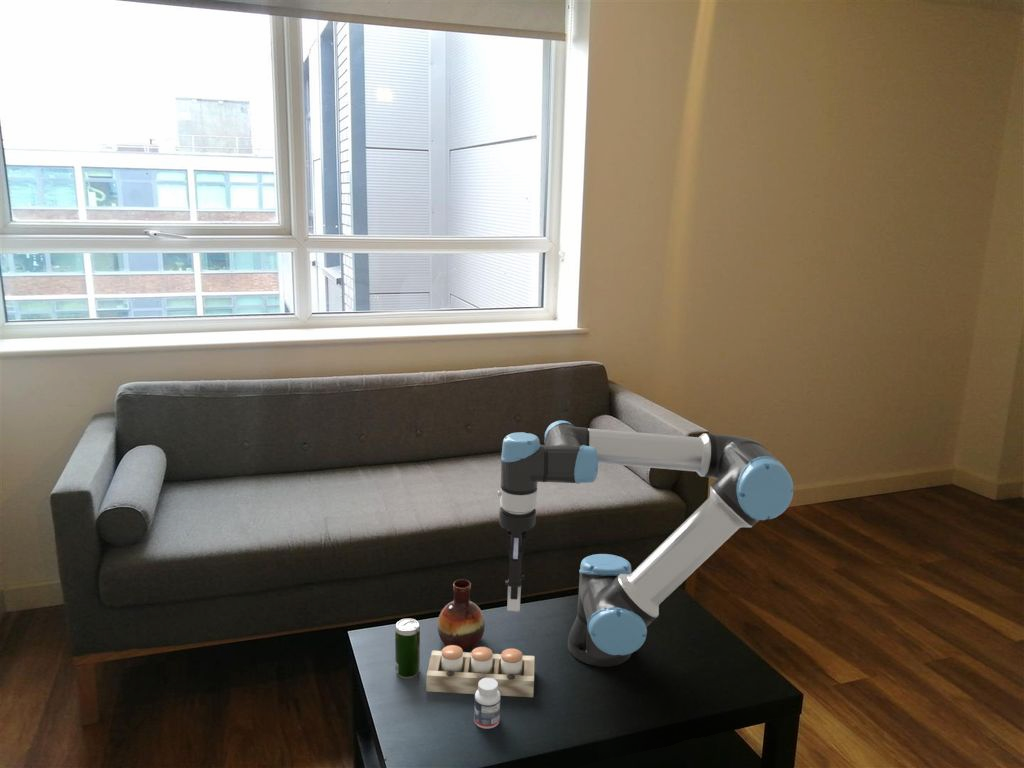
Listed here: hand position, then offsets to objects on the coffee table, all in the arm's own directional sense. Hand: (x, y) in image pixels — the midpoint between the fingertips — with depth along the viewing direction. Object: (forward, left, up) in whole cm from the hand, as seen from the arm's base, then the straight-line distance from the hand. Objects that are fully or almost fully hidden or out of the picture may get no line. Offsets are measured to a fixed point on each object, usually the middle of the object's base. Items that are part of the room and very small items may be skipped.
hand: (513, 609), depth 170 cm
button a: (0, 0, -16) cm, 16 cm away
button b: (+6, 0, -16) cm, 17 cm away
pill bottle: (+4, +13, -19) cm, 23 cm away
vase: (+12, -15, -19) cm, 27 cm away
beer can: (+23, -2, -19) cm, 30 cm away
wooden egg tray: (+6, 0, -18) cm, 19 cm away
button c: (+13, 0, -16) cm, 20 cm away
